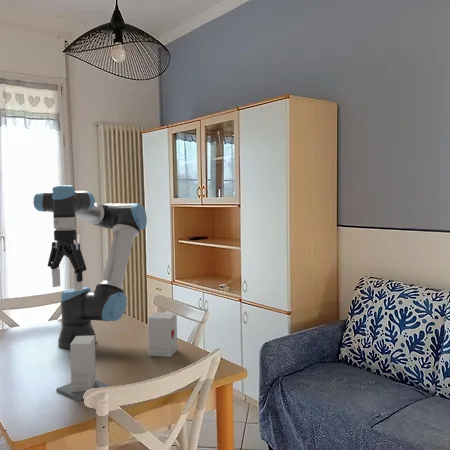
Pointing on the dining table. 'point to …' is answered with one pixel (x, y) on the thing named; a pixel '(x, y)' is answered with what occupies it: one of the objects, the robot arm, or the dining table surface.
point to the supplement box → (163, 334)
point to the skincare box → (82, 363)
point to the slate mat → (78, 395)
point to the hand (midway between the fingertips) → (67, 288)
